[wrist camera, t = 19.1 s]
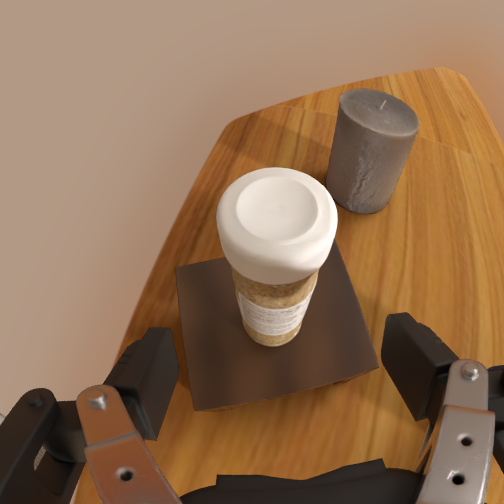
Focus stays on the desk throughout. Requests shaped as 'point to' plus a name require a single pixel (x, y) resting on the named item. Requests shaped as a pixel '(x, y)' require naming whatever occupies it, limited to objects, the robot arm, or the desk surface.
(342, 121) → the pillar candle
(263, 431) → the desk surface
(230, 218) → the sprinkles bottle
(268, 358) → the shelf
